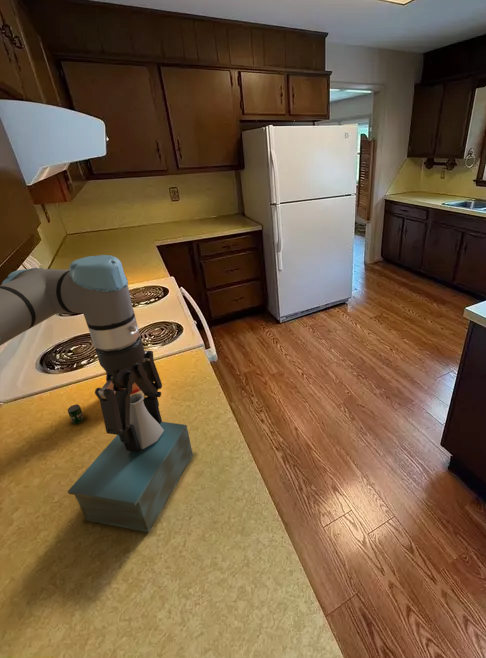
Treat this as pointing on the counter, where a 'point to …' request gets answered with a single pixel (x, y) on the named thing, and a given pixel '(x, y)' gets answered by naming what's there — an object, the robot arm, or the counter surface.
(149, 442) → the flask
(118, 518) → the chest
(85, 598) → the counter surface
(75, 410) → the beer can
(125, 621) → the counter surface
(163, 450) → the lid
